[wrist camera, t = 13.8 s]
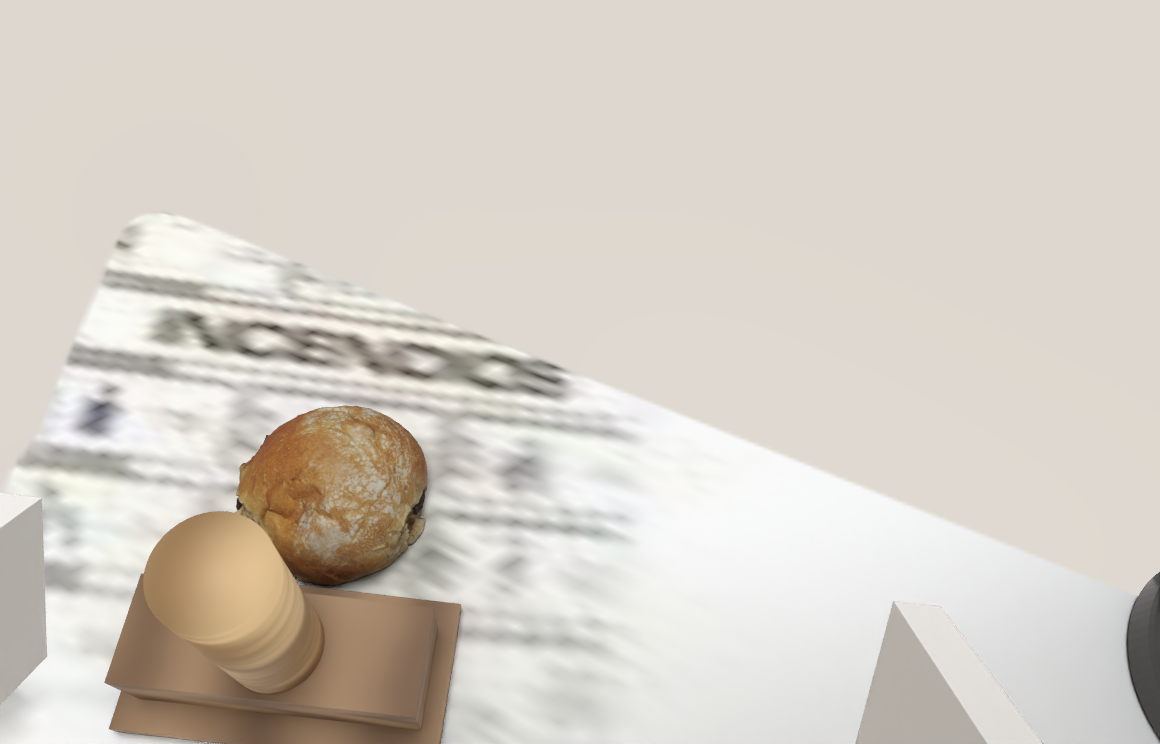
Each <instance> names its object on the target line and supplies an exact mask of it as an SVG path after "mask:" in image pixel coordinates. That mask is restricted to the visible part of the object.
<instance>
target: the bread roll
mask: <svg viewBox="0 0 1160 744" xmlns="http://www.w3.org/2000/svg"><path fill="white" fill-rule="evenodd" d="M426 489H427V466H426V461H425V458H424V454H423V452H422V449H421V447H420V446H419V444H418V443H417V441H416V440H415V439H414V437H413V436H412V435H411V433H409V432H408V431H407V430H406V429H405V428H404V427H402V426H401V425H400V424H399V423H397V422H396V421H394V420H393V419H392V418H390V417H388V416H386V415H384V414H381V413H379V412H377V411H375V410H372V409H369V408H363V407H358V406H353V407H352V406H346V405H345V406H339V407H325V408H319V409H316V410H313V411H310V412H308V413H305V414H302V415H298V416H297V417H296V418H294V419H292V420H290V421H288V422H287V423H285V424H283V425H281V426H279V427H278V428H277V429H276V430H275V431H274V432H273V433H272V434H271V435H266V438H265V441H264V443H263V445H261V446H260V449H259V451H258V452H257V453H256V455H255V456H253V457H252V459H251V460H250V461H249V462H247V463H243V464H242V465H241V467H240V484H239V487H238V490H237V493H236V495H237V496H239V498H237V506H236V507H237V510H238V511H237V512H236V514H240V515H243V516H245V517H247V518H249V519H251V520H252V521H254V522H256V523H257V524H258V525H259V526H260V527H261V528H262V529H263V530H264V531H265V532H266V534H267V535H268V537H269V538H270V540H271V542H272V543H273V545H274V546H275V548H276V550H277V551H278V553H279V554H280V556H281V557H282V559H283V561H284V562H285V564H286V565H287V567H288V569H289V570H290V572H291V573H292V574H293V575H294V576H296V577H297V578H298V580H299V581H300V580H303V581H306V582H310V583H314V584H319V585H329V586H334V585H336V584H340V583H345V582H348V581H355V580H356V579H357V578H360V577H362V576H364V575H367V574H371V573H374V572H376V571H379V570H381V569H383V568H384V567H386V566H388V565H390V564H391V563H392V562H393V561H394V560H395V559H396V558H397V557H398V556H399V555H400V554H401V553H402V552H403V551H404V550H405V549H406V548H408V545H407V544H413V543H414V542H416V540H417V538H418V537H419V536H420V534H421V533H422V531H423V529H424V524H425V519H424V518H419V516H420V513H421V509H422V507H423V503H424V499H425V495H424V493H425V491H426ZM261 516H262V517H261Z"/></svg>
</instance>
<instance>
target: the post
mask: <svg viewBox="0 0 1160 744" xmlns="http://www.w3.org/2000/svg"><path fill="white" fill-rule="evenodd" d="M143 589H144V595H145V599H146V602H147V604H148V606H149V608H150V610H151V612H152V613H153V614H154V616H155V617H156V618H157V619H158V620H159V621H160V622H161V623H162V624H163V625H165V626H166V627H167V628H169V629H170V630H171V631H173V632H174V633H175V634H176V635H178V636H179V637H180V638H182V639H183V640H184V641H186V642H187V643H188V644H189V645H191V646H192V647H193V648H195V649H196V650H197V651H199V652H200V653H201V654H202V655H204V656H205V657H206V658H208V659H209V660H210V661H212V662H213V663H214V664H215V665H217V666H218V667H219V668H221V669H222V670H223V671H225V672H226V673H227V674H229V675H230V676H231V677H232V678H234V679H235V680H236V681H238V682H239V683H240V684H242V685H243V686H244V687H246V688H248V689H250V690H252V691H254V692H257V693H263V694H276V693H281V692H285V691H287V690H290V689H292V688H294V687H296V686H298V685H299V684H301V683H302V682H303V681H305V680H306V679H307V678H308V677H309V676H310V675H311V674H312V672H313V671H314V670H315V668H316V667H317V665H318V663H319V661H320V659H321V657H322V654H323V650H324V644H325V635H324V629H323V625H322V623H321V620H320V618H319V617H318V615H317V613H316V612H315V610H314V609H313V607H312V605H311V604H310V602H309V601H308V599H307V597H306V596H305V594H304V593H303V591H302V589H301V588H300V586H299V585H298V583H297V581H296V580H295V578H294V577H293V575H292V573H291V572H290V570H289V569H288V567H287V565H286V564H285V562H284V561H283V559H282V557H281V556H280V554H279V553H278V551H277V550H276V548H275V546H274V545H273V543H272V542H271V540H270V538H269V537H268V535H267V534H266V532H265V531H264V530H263V529H262V528H261V527H260V526H259V525H258V524H257V523H256V522H254V521H252V520H251V519H249V518H247V517H245V516H243V515H240V514H236V513H231V512H221V511H218V512H208V513H203V514H200V515H196V516H193V517H191V518H189V519H187V520H185V521H183V522H181V523H179V524H178V525H176V526H175V527H174V528H172V529H171V530H170V531H169V532H168V533H166V534H165V535H164V536H163V538H162V539H161V540H160V541H159V542H158V543H157V545H156V546H155V548H154V549H153V551H152V553H151V555H150V556H149V559H148V561H147V564H146V568H145V572H144V579H143Z"/></svg>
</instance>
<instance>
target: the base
mask: <svg viewBox="0 0 1160 744" xmlns="http://www.w3.org/2000/svg"><path fill="white" fill-rule="evenodd" d="M143 579H144V574H141V576H140V579H139V582H138V585H137V588H136V591H135V594H134V597H133V599H132V602H131V605H130V608H129V611H128V614H127V617H126V620H125V623H124V626H123V629H122V632H121V635H120V638H119V641H118V644H117V647H116V650H115V653H114V656H113V659H112V662H111V665H110V668H109V671H108V674H107V677H106V679H105V682H104V683H106V684H109V685H111V686H113V687H115V688H117V689H119V690H121V693H120V696H119V699H118V702H117V706H116V709H115V712H114V715H113V718H112V721H111V724H110V727H109V729H111V730H113V731H116V732H123V733H132V734H141V735H150V736H159V737H169V738H178V739H187V740H196V741H205V742H214V743H223V744H440V743H441V736H442V730H443V723H444V717H445V711H446V704H447V698H448V691H449V685H450V679H451V672H452V666H453V660H454V653H455V647H456V640H457V634H458V628H459V621H460V615H461V604H455V603H446V602H438V601H429V600H421V599H412V598H404V597H396V596H387V595H379V594H370V593H362V592H353V591H345V590H336V589H328V588H319V587H311V586H302V585H299V586H300V588H301V589H302V591H303V593H304V594H305V596H306V597H307V599H308V601H309V602H310V604H311V605H312V607H313V609H314V610H315V612H316V613H317V615H318V617H319V618H320V620H321V623H322V625H323V629H324V635H325V644H324V650H323V654H322V657H321V659H320V661H319V663H318V665H317V667H316V668H315V670H314V671H313V672H312V674H311V675H310V676H309V677H308V678H307V679H306V680H305V681H303V682H302V683H301V684H299V685H298V686H296V687H294V688H292V689H290V690H287V691H285V692H281V693H276V694H263V693H257V692H254V691H252V690H250V689H248V688H246V687H244V686H243V685H242V684H240V683H239V682H238V681H236V680H235V679H234V678H232V677H231V676H230V675H229V674H227V673H226V672H225V671H223V670H222V669H221V668H219V667H218V666H217V665H215V664H214V663H213V662H212V661H210V660H209V659H208V658H206V657H205V656H204V655H202V654H201V653H200V652H199V651H197V650H196V649H195V648H193V647H192V646H191V645H189V644H188V643H187V642H186V641H184V640H183V639H182V638H180V637H179V636H178V635H176V634H175V633H174V632H173V631H171V630H170V629H169V628H167V627H166V626H165V625H163V624H162V623H161V622H160V621H159V620H158V619H157V618H156V617H155V616H154V614H153V613H152V612H151V610H150V608H149V606H148V604H147V602H146V599H145V595H144V589H143Z"/></svg>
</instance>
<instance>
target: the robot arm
mask: <svg viewBox="0 0 1160 744" xmlns="http://www.w3.org/2000/svg"><path fill="white" fill-rule="evenodd" d="M1128 654H1129V663H1130V669H1131V673H1132V678H1133V681H1134V685H1135V688H1136V691H1137V694H1138V697H1139V699H1140V702H1141V704H1142V706H1143V709H1144V711H1145V713H1146V715H1147V717H1148V719H1149V721H1150V723H1151V725H1152V726H1153V728H1154V730H1155V732H1156V733H1157V735H1158V736H1159V738H1160V572H1159V573H1158V574H1156V575H1155V576H1154V577H1153V578H1152V579H1151V580H1150V581H1149V582H1148V583H1147V584H1146V586H1145V587H1144V588H1143V590H1142V591H1141V593H1140V595H1139V596H1138V598H1137V600H1136V603H1135V605H1134V608H1133V611H1132V614H1131V618H1130V623H1129V630H1128ZM46 657H47V643H46V612H45V582H44V551H43V521H42V498H38V497H30V496H21V495H13V494H5V493H0V704H1V703H2V702H3V701H4V700H5V699H6V698H7V697H8V696H9V695H10V694H11V693H12V692H13V691H14V690H15V689H16V688H17V687H18V686H19V685H20V684H21V683H22V682H23V681H24V680H25V679H26V678H27V677H28V675H29V674H30V673H31V672H32V671H33V670H34V669H35V668H36V667H37V666H38V665H39V664H40V663H41V662H42V661H43V660H44V659H45V658H46ZM856 744H1043V743H1042V742H1041V740H1040V739H1039V738H1038V736H1037V735H1036V734H1035V732H1034V731H1033V730H1032V728H1031V727H1030V726H1029V724H1028V723H1027V721H1026V720H1025V719H1024V717H1023V716H1022V715H1021V713H1020V712H1019V711H1018V709H1017V708H1016V707H1015V705H1014V704H1013V703H1012V701H1011V700H1010V699H1009V697H1008V696H1007V695H1006V693H1005V692H1004V691H1003V689H1002V688H1001V687H1000V685H999V684H998V683H997V681H996V680H995V679H994V677H993V676H992V675H991V673H990V672H989V670H988V669H987V668H986V666H985V665H984V664H983V662H982V661H981V660H980V658H979V657H978V656H977V654H976V653H975V652H974V650H973V649H972V648H971V646H970V645H969V644H968V642H967V641H966V640H965V638H964V637H963V636H962V634H961V633H960V632H959V630H958V629H957V628H956V626H955V625H954V624H953V622H952V621H951V620H950V618H949V617H948V615H947V614H946V613H945V611H944V610H943V609H942V607H939V606H931V605H923V604H915V603H906V602H898V601H893V605H892V608H891V612H890V616H889V620H888V623H887V627H886V631H885V635H884V638H883V642H882V646H881V650H880V654H879V657H878V661H877V665H876V669H875V672H874V676H873V680H872V684H871V687H870V691H869V695H868V699H867V702H866V706H865V710H864V714H863V717H862V721H861V725H860V729H859V733H858V736H857V740H856Z"/></svg>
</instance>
